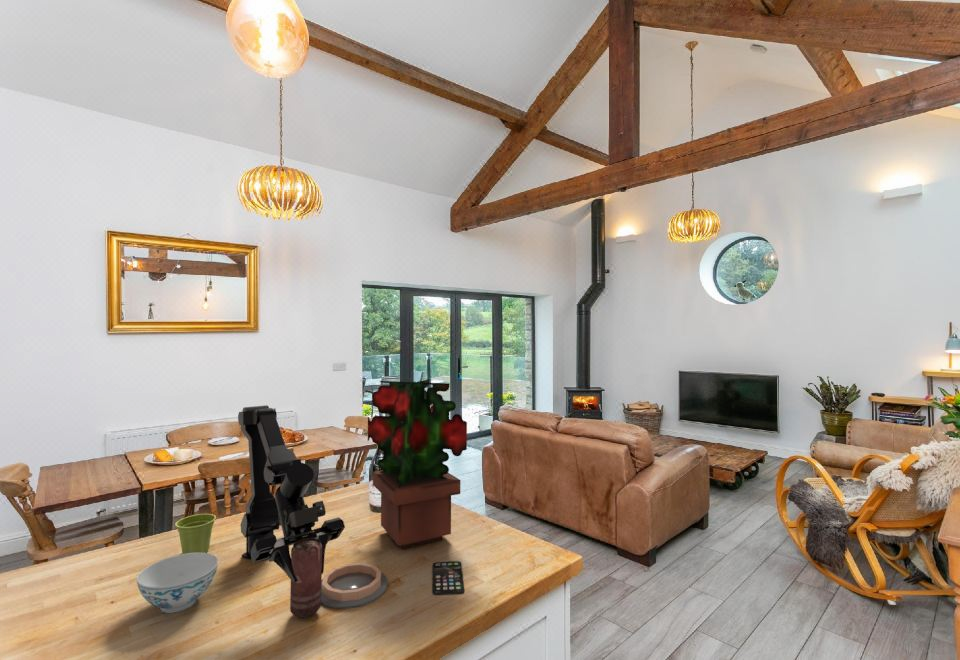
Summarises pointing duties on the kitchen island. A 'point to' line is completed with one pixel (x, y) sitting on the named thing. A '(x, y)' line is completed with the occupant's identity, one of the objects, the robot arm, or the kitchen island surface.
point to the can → (306, 577)
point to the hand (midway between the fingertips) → (308, 577)
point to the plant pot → (195, 532)
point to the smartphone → (447, 578)
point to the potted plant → (416, 459)
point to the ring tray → (352, 585)
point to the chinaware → (177, 580)
